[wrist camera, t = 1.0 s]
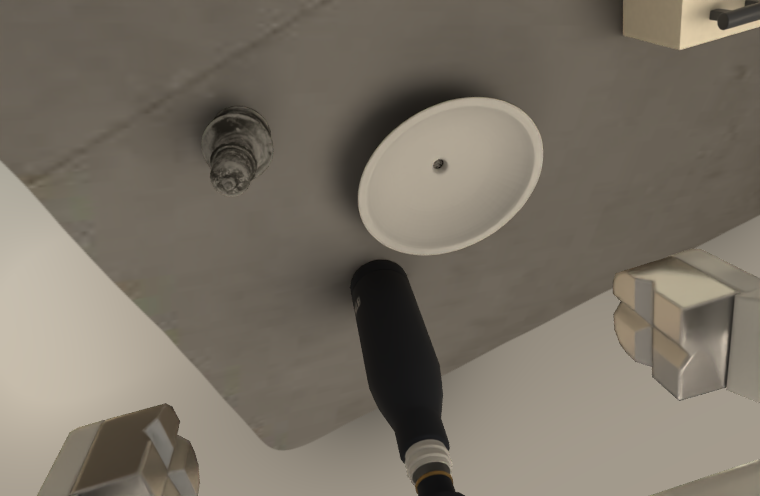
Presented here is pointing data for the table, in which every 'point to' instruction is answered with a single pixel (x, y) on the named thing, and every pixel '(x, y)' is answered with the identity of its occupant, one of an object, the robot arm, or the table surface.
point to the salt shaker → (236, 149)
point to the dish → (450, 176)
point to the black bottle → (403, 373)
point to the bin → (688, 20)
